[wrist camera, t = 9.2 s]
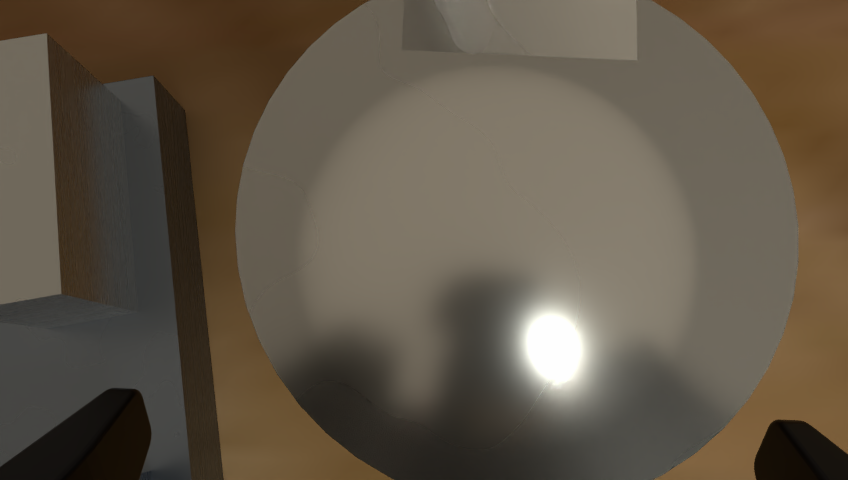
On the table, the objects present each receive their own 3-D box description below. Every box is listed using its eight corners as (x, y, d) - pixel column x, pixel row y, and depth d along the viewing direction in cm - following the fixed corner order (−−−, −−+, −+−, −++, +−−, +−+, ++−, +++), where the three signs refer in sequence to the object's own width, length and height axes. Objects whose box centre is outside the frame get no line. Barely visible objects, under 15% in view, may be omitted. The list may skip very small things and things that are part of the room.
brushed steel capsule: (525, 417, 15) (820, 527, 4) (374, 409, 16) (201, 492, 4) (530, 180, 17) (761, -291, 5) (389, 174, 17) (297, -306, 5)
